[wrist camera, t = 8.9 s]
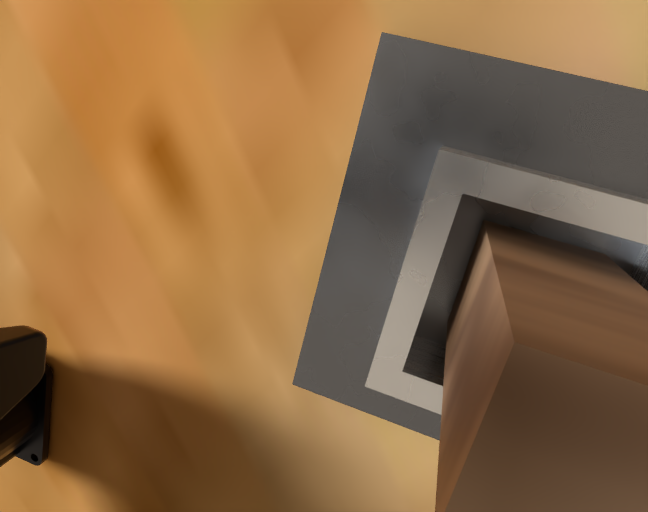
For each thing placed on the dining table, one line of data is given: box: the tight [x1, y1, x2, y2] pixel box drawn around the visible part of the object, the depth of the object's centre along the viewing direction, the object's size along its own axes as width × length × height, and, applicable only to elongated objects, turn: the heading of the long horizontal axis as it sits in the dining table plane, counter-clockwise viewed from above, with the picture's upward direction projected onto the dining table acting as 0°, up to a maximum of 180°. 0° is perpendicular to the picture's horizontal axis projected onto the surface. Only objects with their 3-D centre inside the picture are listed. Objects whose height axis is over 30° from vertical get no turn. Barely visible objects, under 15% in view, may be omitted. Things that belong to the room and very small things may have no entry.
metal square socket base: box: [293, 32, 648, 440], centre depth 16 cm, size 14×14×4 cm
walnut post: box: [435, 220, 648, 512], centre depth 12 cm, size 4×4×10 cm
